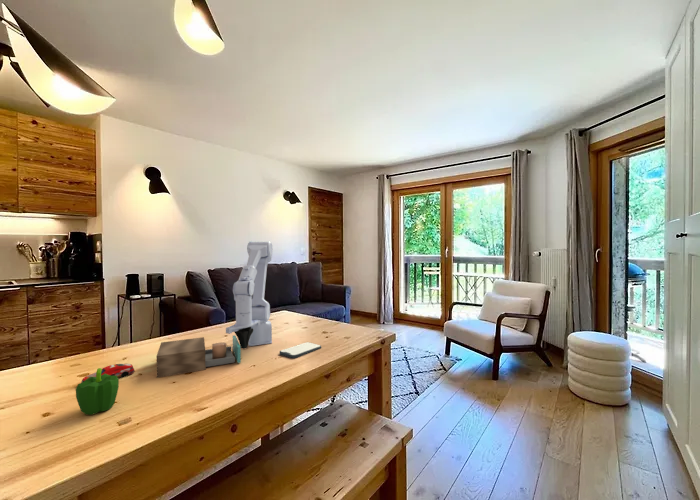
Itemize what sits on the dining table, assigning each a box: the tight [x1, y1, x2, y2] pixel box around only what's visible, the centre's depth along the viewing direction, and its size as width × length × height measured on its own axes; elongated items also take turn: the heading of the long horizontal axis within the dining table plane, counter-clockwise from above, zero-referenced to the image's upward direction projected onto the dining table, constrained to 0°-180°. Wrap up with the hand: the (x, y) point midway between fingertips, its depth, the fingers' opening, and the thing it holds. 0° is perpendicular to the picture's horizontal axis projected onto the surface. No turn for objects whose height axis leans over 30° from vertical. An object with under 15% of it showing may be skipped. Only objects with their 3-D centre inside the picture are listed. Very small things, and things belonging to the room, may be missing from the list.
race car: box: [80, 363, 135, 383], centre depth 97 cm, size 13×5×4 cm, turn 142°
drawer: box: [205, 334, 242, 368], centre depth 113 cm, size 14×16×6 cm
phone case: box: [278, 341, 322, 360], centre depth 122 cm, size 9×2×16 cm
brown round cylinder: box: [211, 342, 227, 359], centre depth 113 cm, size 5×5×5 cm
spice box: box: [155, 336, 206, 378], centre depth 108 cm, size 14×16×7 cm
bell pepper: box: [75, 367, 120, 416], centre depth 78 cm, size 8×8×10 cm
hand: (244, 348), depth 117 cm, fingers closed
